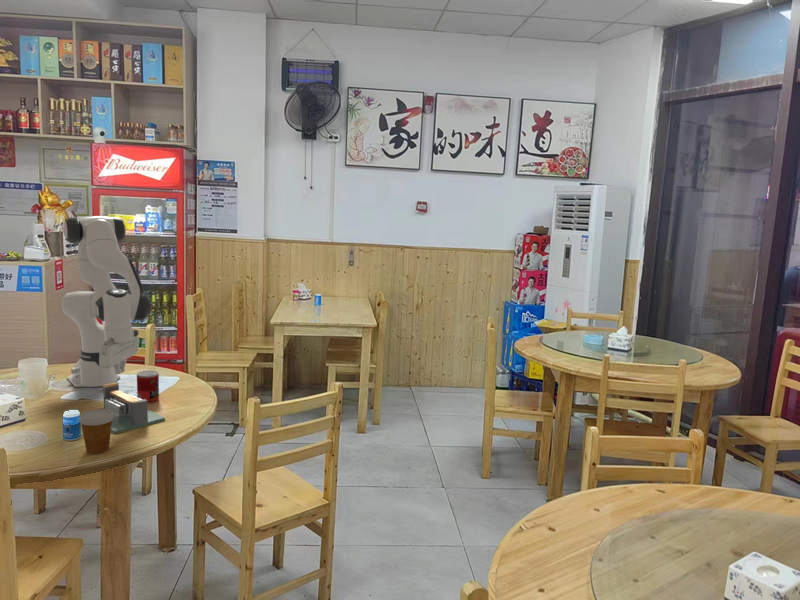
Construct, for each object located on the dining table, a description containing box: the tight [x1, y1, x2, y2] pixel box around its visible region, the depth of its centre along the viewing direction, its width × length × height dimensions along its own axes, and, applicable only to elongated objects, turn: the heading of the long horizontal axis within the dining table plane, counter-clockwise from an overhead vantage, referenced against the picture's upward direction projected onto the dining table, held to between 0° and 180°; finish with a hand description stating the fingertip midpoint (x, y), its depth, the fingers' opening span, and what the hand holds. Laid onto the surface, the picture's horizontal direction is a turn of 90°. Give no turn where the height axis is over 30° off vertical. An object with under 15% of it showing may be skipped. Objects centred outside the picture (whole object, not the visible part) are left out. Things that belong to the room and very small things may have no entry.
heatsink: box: [105, 393, 142, 423], centre depth 211 cm, size 10×10×6 cm
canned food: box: [136, 370, 160, 404], centre depth 231 cm, size 8×8×11 cm
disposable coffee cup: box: [78, 408, 114, 455], centre depth 184 cm, size 10×10×12 cm
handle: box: [109, 389, 139, 404], centre depth 210 cm, size 17×3×2 cm, turn 52°
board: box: [101, 381, 166, 435], centre depth 211 cm, size 24×18×11 cm
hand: (119, 372), depth 211 cm, fingers closed
